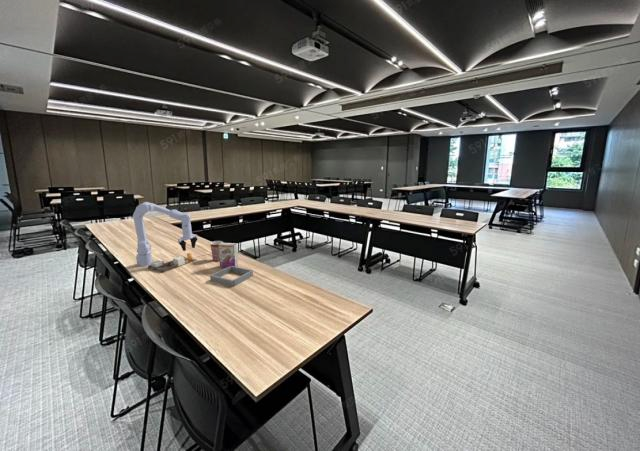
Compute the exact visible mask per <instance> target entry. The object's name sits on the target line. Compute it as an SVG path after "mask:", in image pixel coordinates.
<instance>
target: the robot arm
mask: <svg viewBox="0 0 640 451" xmlns="http://www.w3.org/2000/svg"><path fill="white" fill-rule="evenodd" d="M149 212H150V213H151V212H158V213H162V214H165V215H168V216H169V218H172V219H175V220H179V221H180V222H181V229H182V237H180V238H178V239H177V243H178V244H179V245H180V247H181V250H182V251H183V252H186V250H187V248H186V247H187V246H186V245H187V240H190V243H191V244H190V245H191V248H192V249H195V248H196V243H197V241H198V234H193V232H192V224H191V222H192V221H191V219H192V218H191V216H192V215H190V213H187V212H184V211H182V212H181V211H178V209H176V208H175V209H168V208H166V207H164V206H161V205H158V204H156V203H154V202H153V203H152V202H149V201H144V202H143V203H140V204H138V205H137V206H136V207H135V210H134V212H133V214H132V217H133V223H134V226H135V232H136V237H137V244H136V245H137V248H136V253H137V254H136V256H135V258H136V259H135V260H136V265H137V266H140V267H148V266H149V265H151V263H152V262H153V258H152V252H151V249H152V246H151V244H150V242H149V240H148V238H147V232H146V227H145V223H144V218H143V216H144V215H145V214H147V213H149Z"/></svg>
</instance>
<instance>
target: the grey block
mask: <svg viewBox="0 0 640 451" xmlns="http://www.w3.org/2000/svg"><path fill="white" fill-rule="evenodd" d="M162 261H163V260H156V261H152V263H151V266H153V267H158V266H161V265H163V262H162Z"/></svg>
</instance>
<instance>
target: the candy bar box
mask: <svg viewBox="0 0 640 451" xmlns="http://www.w3.org/2000/svg"><path fill="white" fill-rule="evenodd" d="M237 244H238V243H237V242H236V243H235V242H233V243H232V242H223V243H220V244H219V245H218V247H219V260H220V261H219V267H220V268H227V267H229V266H235V267H239V266H238V265H239V261H238V247H237V246H238V245H237Z"/></svg>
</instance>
